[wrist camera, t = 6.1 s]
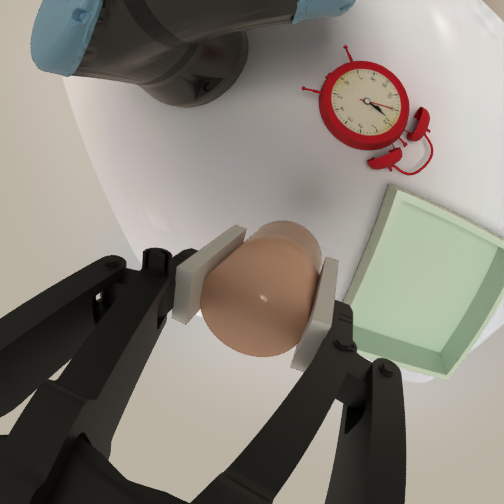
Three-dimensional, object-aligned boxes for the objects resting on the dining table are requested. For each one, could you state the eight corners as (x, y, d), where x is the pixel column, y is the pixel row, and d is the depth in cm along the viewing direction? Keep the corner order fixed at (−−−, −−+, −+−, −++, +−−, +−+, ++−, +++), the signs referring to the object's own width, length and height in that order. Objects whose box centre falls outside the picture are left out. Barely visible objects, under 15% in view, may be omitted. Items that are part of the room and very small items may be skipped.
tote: (333, 321, 37) (330, 346, 32) (388, 183, 29) (397, 189, 24) (440, 355, 33) (447, 380, 28) (503, 238, 25) (523, 253, 20)
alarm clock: (349, 32, 21) (463, 127, 19) (358, 57, 27) (451, 139, 24) (287, 94, 26) (395, 197, 23) (305, 111, 32) (394, 198, 29)
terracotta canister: (240, 277, 20) (193, 332, 14) (257, 210, 18) (209, 242, 12) (307, 302, 19) (286, 370, 13) (332, 235, 17) (325, 284, 11)
